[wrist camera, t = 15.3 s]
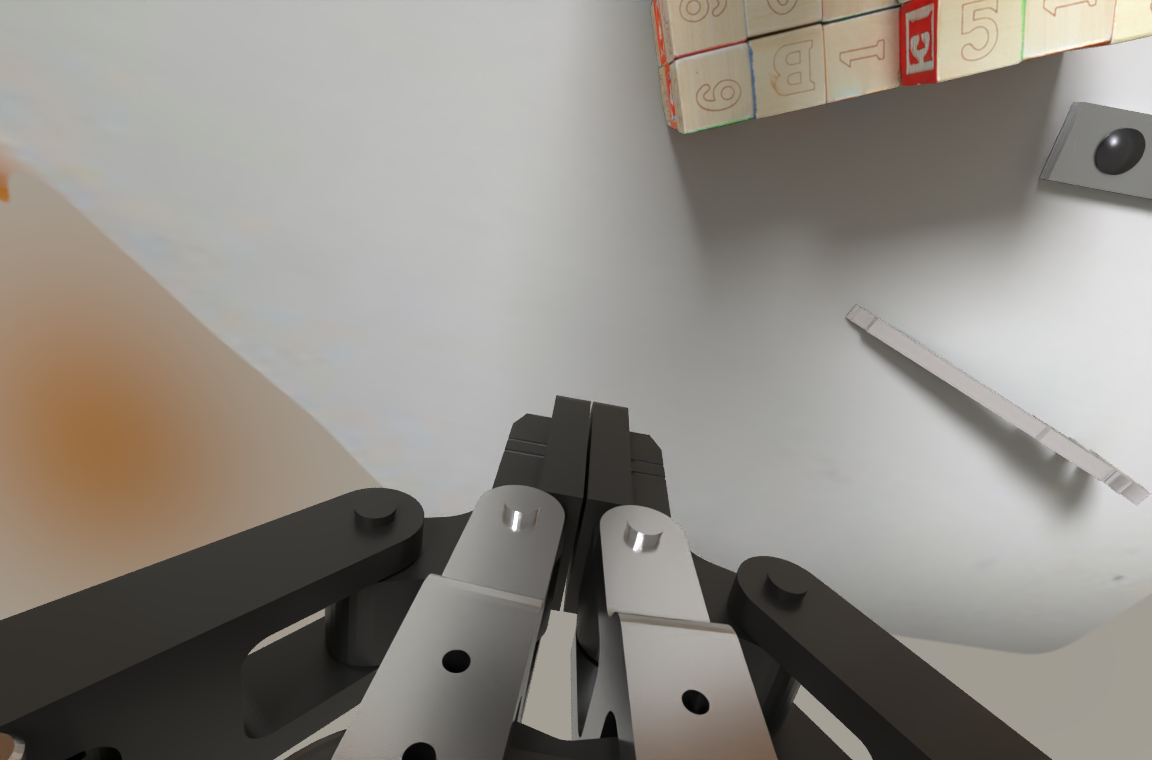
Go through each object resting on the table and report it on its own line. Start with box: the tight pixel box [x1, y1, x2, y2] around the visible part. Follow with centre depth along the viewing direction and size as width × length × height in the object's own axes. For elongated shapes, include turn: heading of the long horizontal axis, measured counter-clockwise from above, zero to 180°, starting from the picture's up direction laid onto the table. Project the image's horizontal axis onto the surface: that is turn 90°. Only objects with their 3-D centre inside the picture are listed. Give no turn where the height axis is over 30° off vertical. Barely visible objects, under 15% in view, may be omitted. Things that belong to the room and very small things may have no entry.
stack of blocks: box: [650, 0, 1152, 134], centre depth 27 cm, size 21×6×12 cm, turn 102°
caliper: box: [846, 305, 1151, 505], centre depth 38 cm, size 20×1×6 cm, turn 60°
